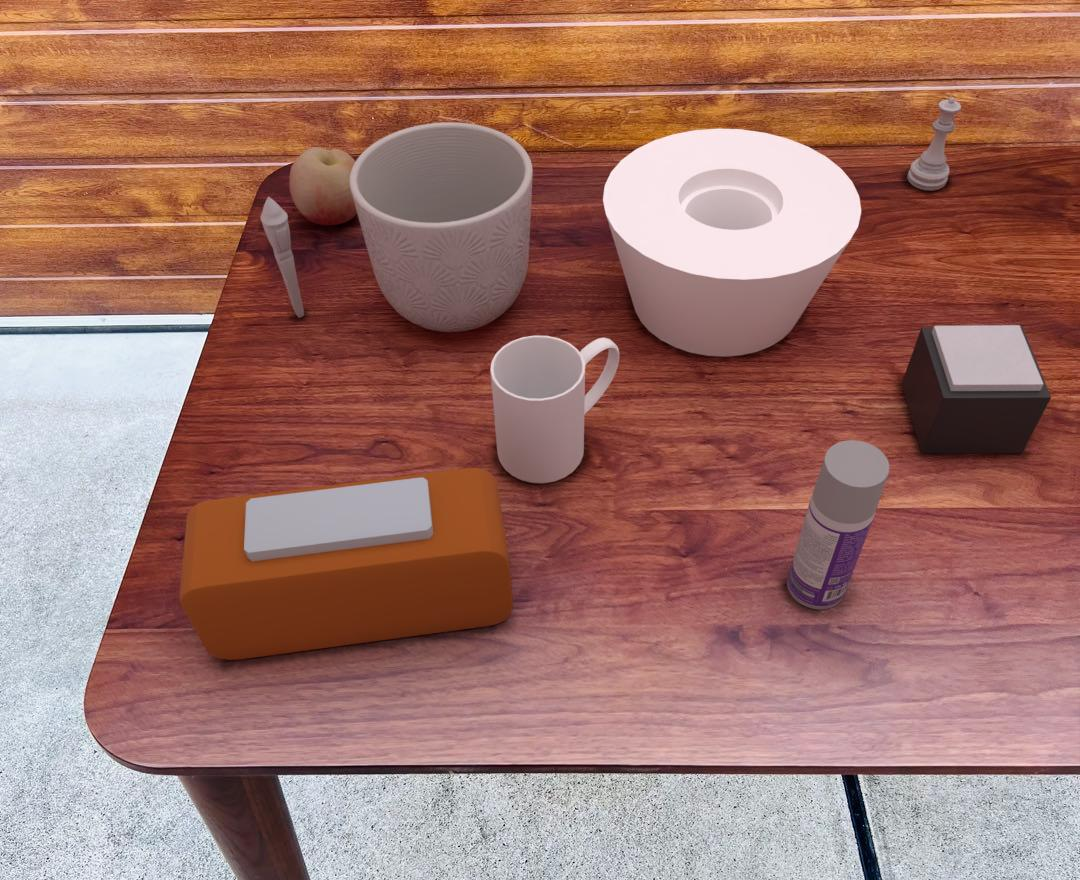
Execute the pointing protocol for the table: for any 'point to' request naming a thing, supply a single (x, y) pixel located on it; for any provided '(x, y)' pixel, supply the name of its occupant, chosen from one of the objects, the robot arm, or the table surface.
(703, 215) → the white tapered cylinder
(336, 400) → the table surface
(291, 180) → the fruit
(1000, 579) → the table surface
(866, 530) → the container
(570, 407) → the mug
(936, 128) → the chess piece
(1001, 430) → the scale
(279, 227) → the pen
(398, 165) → the planter
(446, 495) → the alarm clock
